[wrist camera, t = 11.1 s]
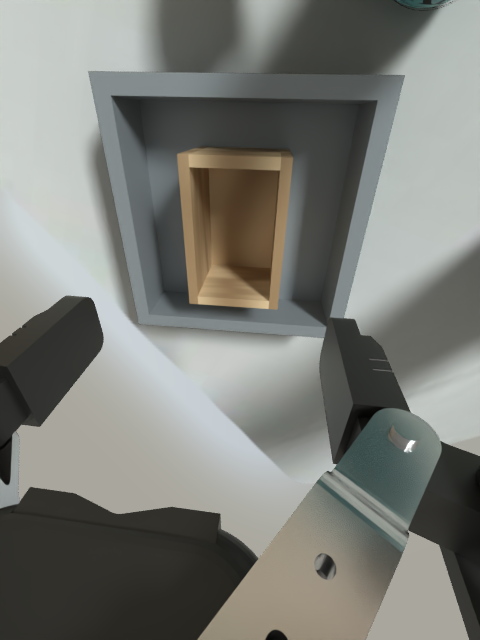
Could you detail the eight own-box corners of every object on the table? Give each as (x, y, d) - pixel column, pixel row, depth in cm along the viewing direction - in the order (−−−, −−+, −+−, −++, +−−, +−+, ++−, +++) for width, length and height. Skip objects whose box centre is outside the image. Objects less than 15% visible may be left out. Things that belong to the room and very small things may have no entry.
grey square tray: (376, 85, 19) (404, 75, 15) (329, 306, 28) (338, 339, 23) (127, 81, 20) (88, 71, 16) (158, 294, 29) (138, 324, 25)
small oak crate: (289, 148, 20) (293, 157, 15) (277, 272, 25) (277, 309, 20) (200, 146, 21) (176, 153, 16) (206, 268, 26) (189, 303, 21)
